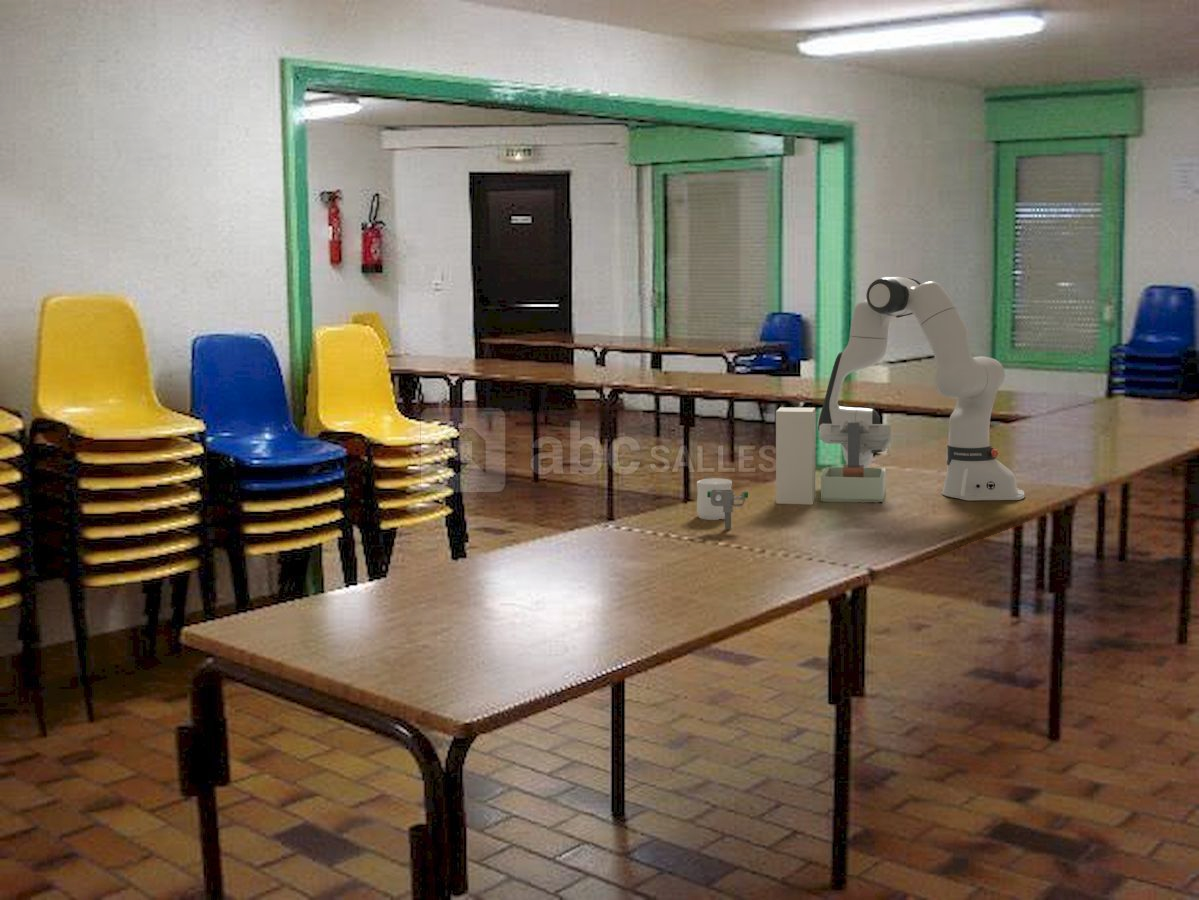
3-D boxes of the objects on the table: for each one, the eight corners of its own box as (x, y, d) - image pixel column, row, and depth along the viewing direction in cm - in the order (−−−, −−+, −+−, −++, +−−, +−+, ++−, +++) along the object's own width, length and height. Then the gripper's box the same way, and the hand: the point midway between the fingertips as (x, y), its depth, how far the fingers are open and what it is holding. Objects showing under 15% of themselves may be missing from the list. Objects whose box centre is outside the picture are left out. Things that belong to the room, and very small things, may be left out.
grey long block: (864, 421, 375) (863, 423, 370) (864, 482, 377) (863, 485, 373) (844, 421, 376) (843, 423, 372) (844, 481, 379) (842, 484, 374)
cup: (731, 512, 359) (731, 477, 357) (733, 520, 349) (732, 484, 348) (696, 513, 360) (696, 477, 358) (697, 520, 350) (696, 484, 348)
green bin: (885, 491, 383) (885, 468, 382) (882, 503, 367) (882, 478, 366) (826, 490, 387) (826, 466, 386) (820, 501, 371) (821, 477, 370)
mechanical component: (747, 530, 336) (747, 492, 334) (707, 529, 338) (706, 491, 336) (748, 528, 339) (748, 489, 337) (708, 527, 341) (708, 489, 339)
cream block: (815, 498, 376) (815, 407, 372) (812, 504, 367) (812, 411, 363) (780, 497, 378) (779, 407, 374) (776, 503, 370) (775, 411, 366)
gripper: (820, 430, 388) (817, 412, 376) (892, 431, 383) (890, 413, 371) (819, 450, 386) (815, 433, 374) (891, 451, 381) (889, 433, 368)
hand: (853, 423), depth 372 cm, fingers closed on grey long block, 3 cm apart
